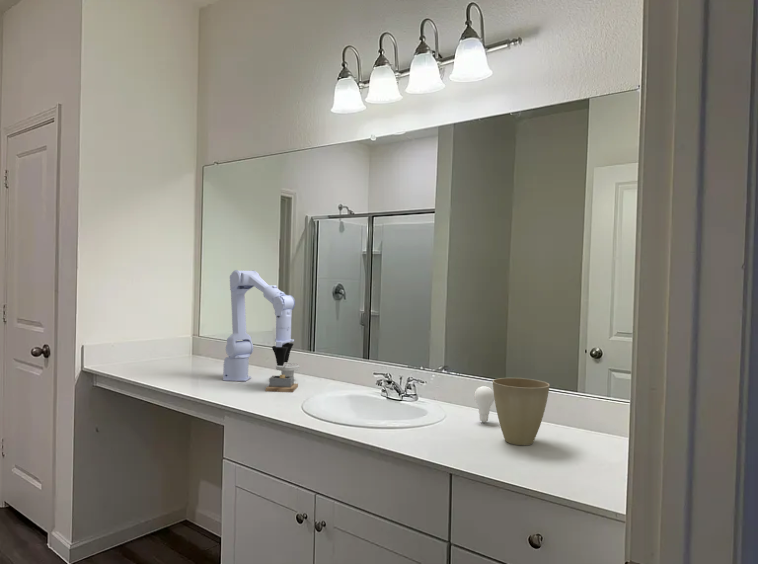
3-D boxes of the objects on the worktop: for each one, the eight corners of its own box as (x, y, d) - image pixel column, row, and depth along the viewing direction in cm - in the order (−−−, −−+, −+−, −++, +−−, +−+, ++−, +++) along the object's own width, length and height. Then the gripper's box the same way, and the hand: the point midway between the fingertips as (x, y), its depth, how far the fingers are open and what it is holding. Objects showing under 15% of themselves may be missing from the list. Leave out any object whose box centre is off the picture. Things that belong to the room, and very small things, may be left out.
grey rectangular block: (269, 386, 207) (269, 378, 207) (272, 383, 212) (272, 375, 212) (290, 387, 206) (290, 378, 206) (293, 384, 212) (293, 376, 212)
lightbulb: (482, 426, 165) (483, 388, 164) (469, 421, 170) (470, 385, 170) (498, 424, 167) (499, 387, 167) (485, 419, 173) (486, 383, 173)
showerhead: (272, 364, 220) (279, 360, 230) (272, 383, 220) (279, 378, 230) (296, 365, 219) (302, 361, 229) (295, 384, 219) (301, 379, 229)
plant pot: (559, 448, 145) (561, 386, 145) (508, 451, 141) (510, 388, 141) (528, 432, 160) (530, 376, 159) (481, 435, 155) (482, 377, 155)
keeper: (265, 391, 205) (265, 377, 205) (272, 385, 215) (272, 372, 214) (292, 392, 204) (292, 378, 204) (297, 386, 214) (298, 373, 214)
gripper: (289, 330, 201) (289, 367, 202) (297, 326, 216) (297, 361, 216) (270, 329, 202) (269, 366, 202) (279, 325, 216) (279, 360, 217)
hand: (282, 363), depth 209 cm, fingers open, 7 cm apart
